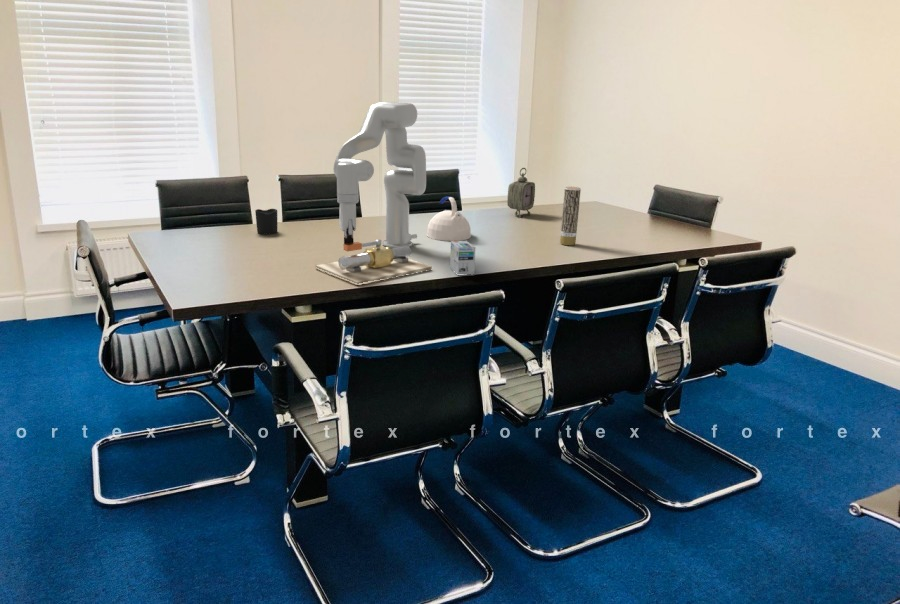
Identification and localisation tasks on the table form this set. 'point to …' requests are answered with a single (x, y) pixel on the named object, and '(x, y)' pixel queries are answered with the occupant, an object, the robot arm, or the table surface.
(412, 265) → the valve board
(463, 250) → the light bulb box
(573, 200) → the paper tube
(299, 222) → the table surface
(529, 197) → the tabletop clock
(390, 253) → the pipe and valve
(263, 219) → the pen holder
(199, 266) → the table surface
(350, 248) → the valve handle
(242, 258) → the table surface
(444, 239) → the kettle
